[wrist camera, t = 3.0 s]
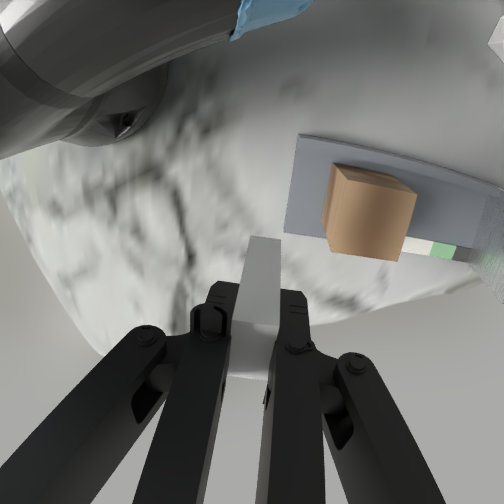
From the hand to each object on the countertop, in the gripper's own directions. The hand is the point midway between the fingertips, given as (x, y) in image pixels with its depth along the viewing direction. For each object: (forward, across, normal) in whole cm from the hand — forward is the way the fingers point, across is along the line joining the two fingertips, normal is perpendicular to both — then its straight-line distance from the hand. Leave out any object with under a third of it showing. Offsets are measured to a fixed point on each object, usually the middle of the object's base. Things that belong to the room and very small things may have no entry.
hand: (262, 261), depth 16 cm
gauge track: (+17, +15, 0) cm, 23 cm away
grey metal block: (+16, +26, 0) cm, 31 cm away
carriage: (+15, +9, 0) cm, 18 cm away
